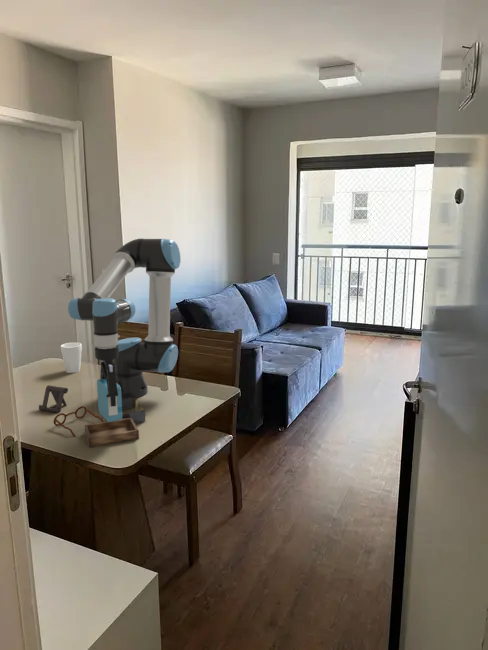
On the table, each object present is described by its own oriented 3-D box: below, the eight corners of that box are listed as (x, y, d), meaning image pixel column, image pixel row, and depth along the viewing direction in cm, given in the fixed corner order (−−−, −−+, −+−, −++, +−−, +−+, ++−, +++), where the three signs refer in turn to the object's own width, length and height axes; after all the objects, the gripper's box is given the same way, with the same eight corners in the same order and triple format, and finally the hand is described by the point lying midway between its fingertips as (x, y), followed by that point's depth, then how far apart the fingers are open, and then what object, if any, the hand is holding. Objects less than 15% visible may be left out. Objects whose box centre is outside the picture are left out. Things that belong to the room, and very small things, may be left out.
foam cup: (58, 373, 230) (56, 347, 227) (68, 367, 238) (67, 342, 236) (77, 374, 228) (75, 348, 225) (86, 368, 237) (85, 343, 234)
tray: (131, 425, 173) (131, 417, 172) (139, 438, 163) (138, 430, 162) (85, 433, 167) (84, 425, 166) (89, 447, 156) (88, 439, 156)
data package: (122, 421, 159) (121, 386, 157) (109, 423, 157) (107, 388, 154) (111, 409, 169) (109, 376, 167) (98, 411, 167) (96, 378, 164)
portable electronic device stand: (38, 410, 186) (36, 390, 184) (52, 403, 193) (51, 383, 191) (57, 413, 183) (55, 393, 181) (71, 406, 190) (69, 386, 188)
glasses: (85, 416, 182) (85, 404, 181) (106, 426, 174) (106, 413, 173) (53, 428, 172) (52, 414, 171) (74, 438, 164) (73, 424, 163)
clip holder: (135, 405, 191) (135, 396, 190) (145, 421, 177) (145, 411, 176) (113, 409, 188) (113, 399, 187) (121, 425, 173) (121, 414, 172)
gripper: (125, 354, 148) (128, 419, 153) (111, 336, 170) (114, 394, 175) (100, 356, 145) (104, 423, 150) (89, 338, 167) (93, 397, 172)
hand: (109, 407), depth 162 cm, fingers closed on data package, 12 cm apart
